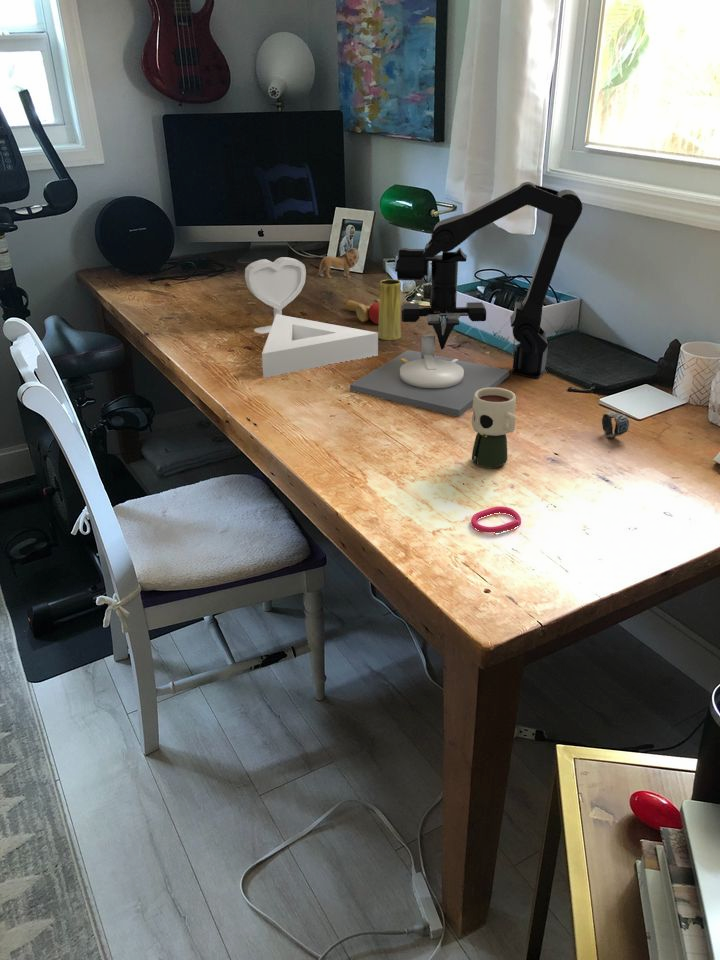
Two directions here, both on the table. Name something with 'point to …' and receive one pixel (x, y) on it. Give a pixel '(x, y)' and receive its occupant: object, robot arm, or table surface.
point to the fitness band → (497, 528)
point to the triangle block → (313, 345)
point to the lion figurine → (340, 262)
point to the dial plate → (441, 400)
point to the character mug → (492, 425)
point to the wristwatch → (620, 426)
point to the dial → (431, 369)
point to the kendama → (365, 310)
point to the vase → (389, 310)
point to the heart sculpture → (275, 283)
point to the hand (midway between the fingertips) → (441, 348)
